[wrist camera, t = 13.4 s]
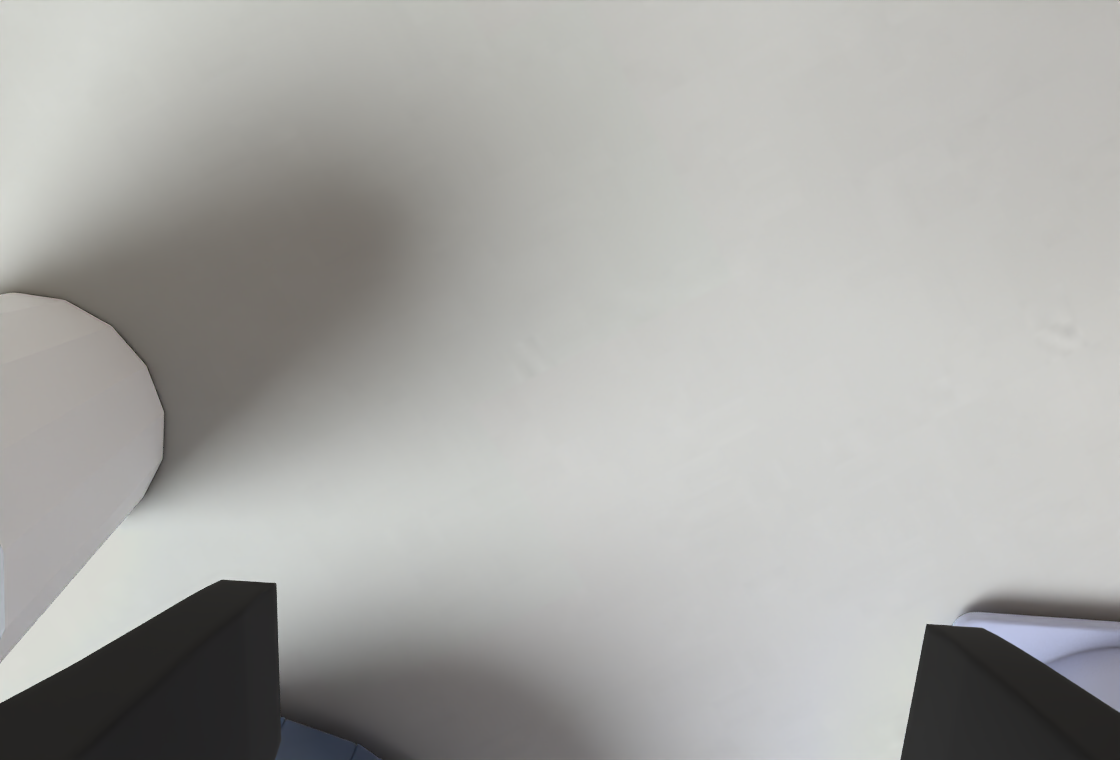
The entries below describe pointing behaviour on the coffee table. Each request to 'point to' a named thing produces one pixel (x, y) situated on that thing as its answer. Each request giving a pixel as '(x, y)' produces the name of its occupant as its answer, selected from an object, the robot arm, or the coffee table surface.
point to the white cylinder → (65, 448)
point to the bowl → (317, 745)
